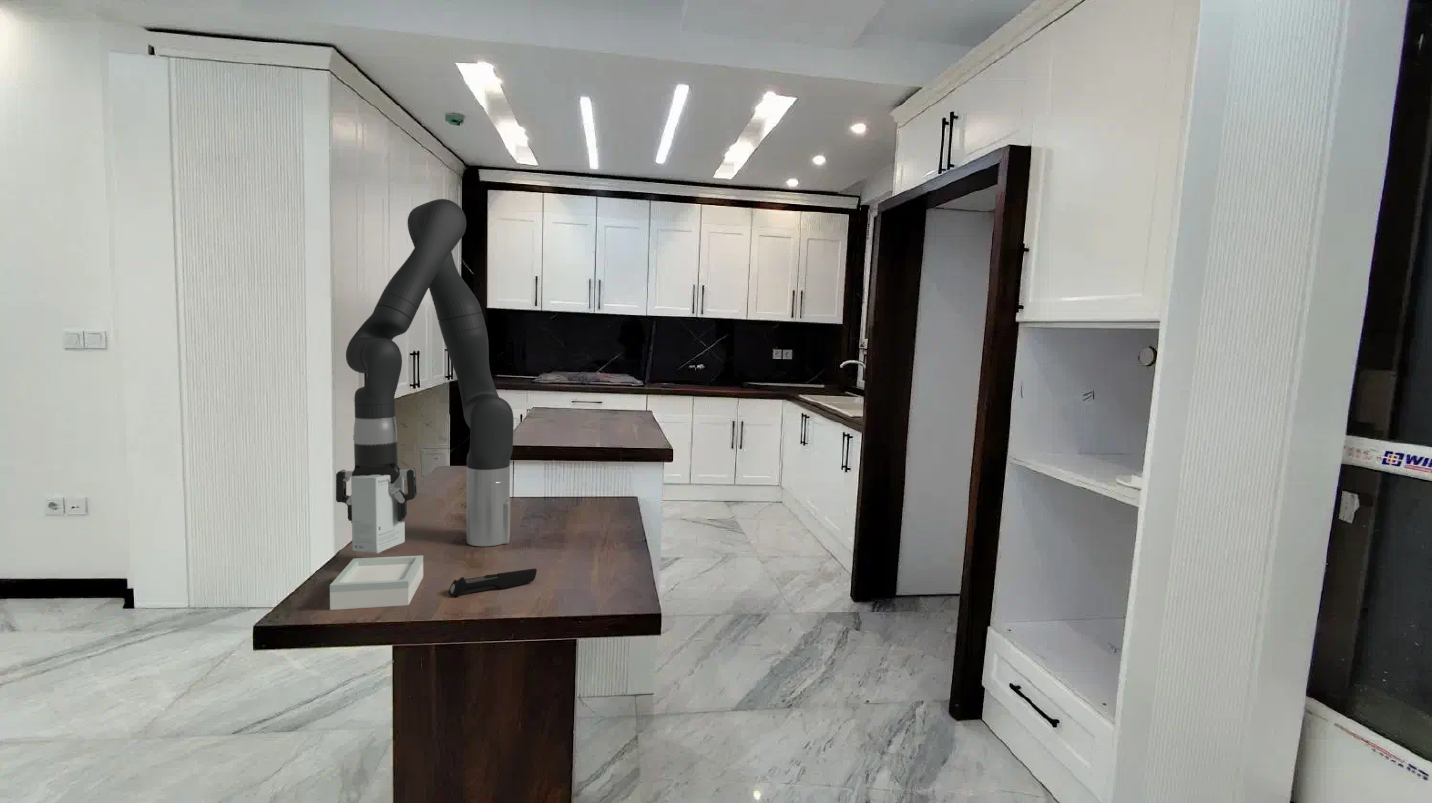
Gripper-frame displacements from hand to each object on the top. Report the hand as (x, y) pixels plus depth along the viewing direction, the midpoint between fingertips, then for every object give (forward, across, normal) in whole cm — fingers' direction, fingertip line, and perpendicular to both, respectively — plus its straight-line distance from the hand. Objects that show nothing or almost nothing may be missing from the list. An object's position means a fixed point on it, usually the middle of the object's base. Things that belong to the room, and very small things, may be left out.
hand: (377, 521), depth 130 cm
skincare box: (+5, 0, 0) cm, 5 cm away
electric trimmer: (+10, -22, +16) cm, 29 cm away
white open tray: (+9, -3, +15) cm, 18 cm away
